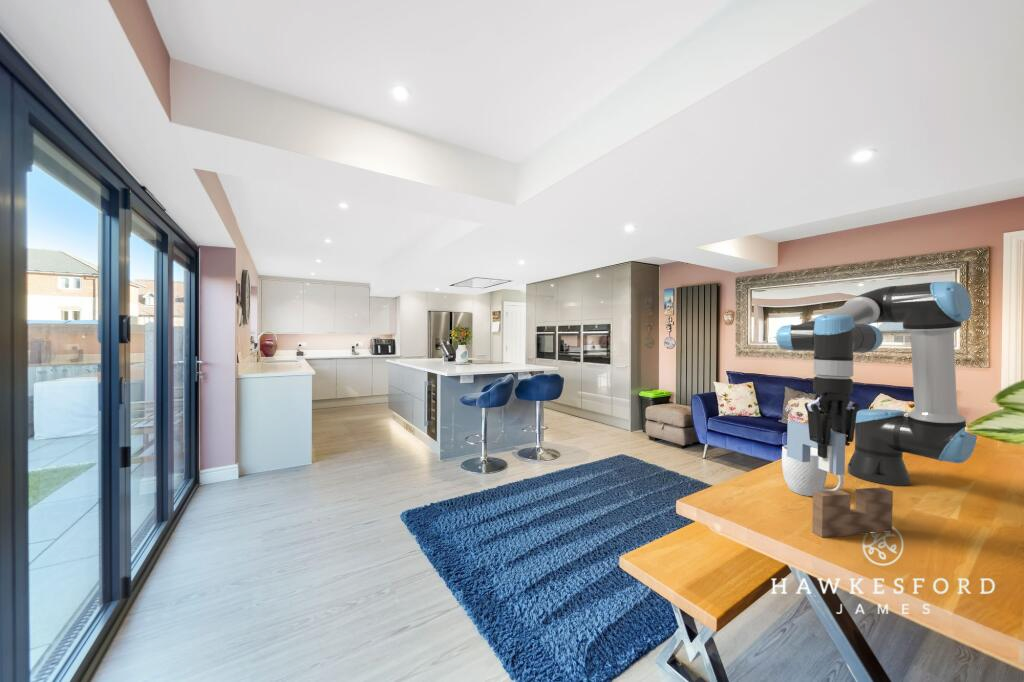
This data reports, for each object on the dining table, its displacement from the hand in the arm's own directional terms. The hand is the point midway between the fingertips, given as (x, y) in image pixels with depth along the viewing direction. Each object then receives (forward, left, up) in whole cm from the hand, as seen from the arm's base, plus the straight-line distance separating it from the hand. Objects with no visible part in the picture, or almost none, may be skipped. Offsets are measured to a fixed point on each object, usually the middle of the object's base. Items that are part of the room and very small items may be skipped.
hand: (830, 469), depth 93 cm
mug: (-13, -18, -15) cm, 27 cm away
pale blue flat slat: (0, -5, 0) cm, 5 cm away
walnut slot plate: (-3, +3, -15) cm, 15 cm away
